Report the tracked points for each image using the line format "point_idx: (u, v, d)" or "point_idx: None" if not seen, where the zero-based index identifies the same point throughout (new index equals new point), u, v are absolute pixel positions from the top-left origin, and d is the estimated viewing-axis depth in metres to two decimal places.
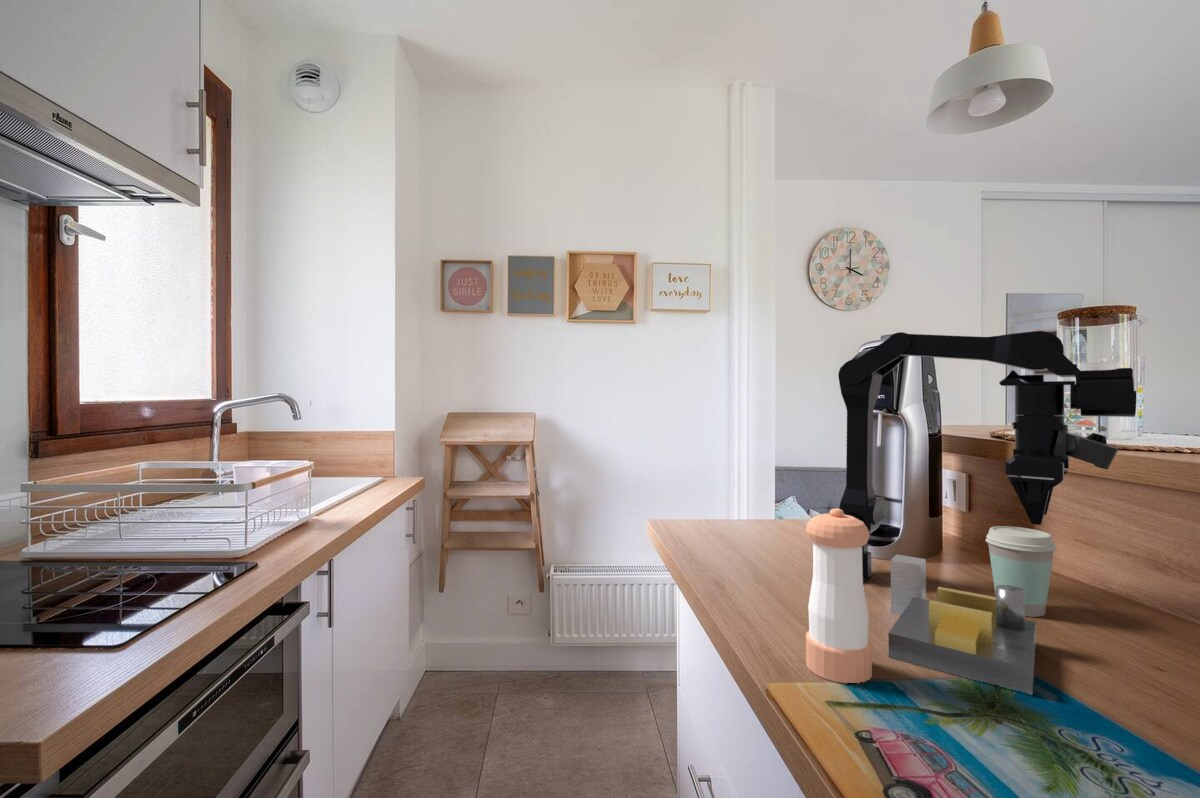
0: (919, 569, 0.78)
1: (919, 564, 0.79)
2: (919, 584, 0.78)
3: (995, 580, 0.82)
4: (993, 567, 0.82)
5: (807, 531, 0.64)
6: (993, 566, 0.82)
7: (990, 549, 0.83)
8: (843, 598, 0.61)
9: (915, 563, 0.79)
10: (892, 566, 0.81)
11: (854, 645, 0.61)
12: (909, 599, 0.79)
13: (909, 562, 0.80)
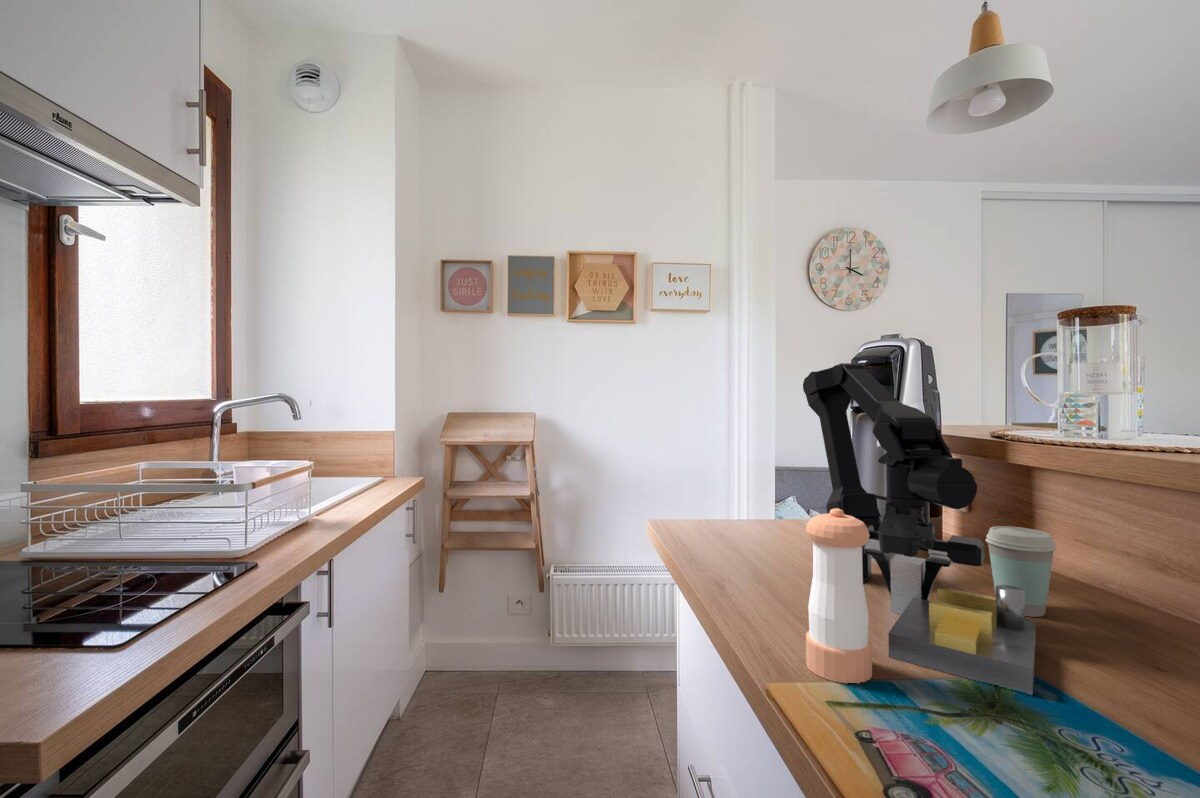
0: (919, 569, 0.78)
1: (919, 563, 0.79)
2: (919, 584, 0.78)
3: (995, 580, 0.82)
4: (993, 567, 0.82)
5: (807, 531, 0.64)
6: (993, 566, 0.82)
7: (990, 549, 0.83)
8: (843, 598, 0.61)
9: (915, 563, 0.79)
10: (892, 566, 0.81)
11: (854, 645, 0.61)
12: (909, 599, 0.79)
13: (909, 562, 0.80)
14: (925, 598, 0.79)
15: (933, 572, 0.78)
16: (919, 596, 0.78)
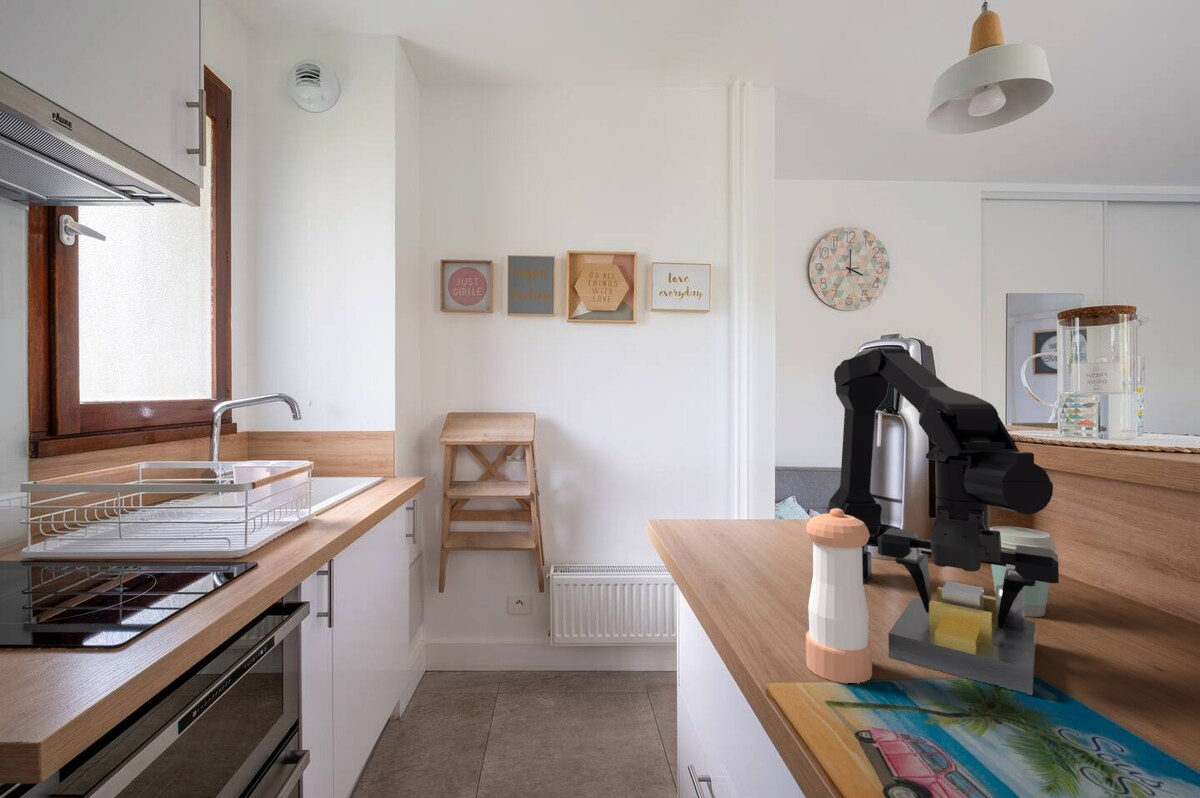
0: (978, 601, 0.66)
1: (977, 594, 0.66)
2: None
3: (995, 580, 0.82)
4: (993, 567, 0.83)
5: (807, 531, 0.64)
6: (993, 566, 0.82)
7: None
8: (843, 598, 0.61)
9: (972, 593, 0.66)
10: (944, 596, 0.68)
11: (854, 645, 0.61)
12: None
13: (965, 592, 0.67)
14: (1002, 623, 0.65)
15: (1013, 592, 0.64)
16: None
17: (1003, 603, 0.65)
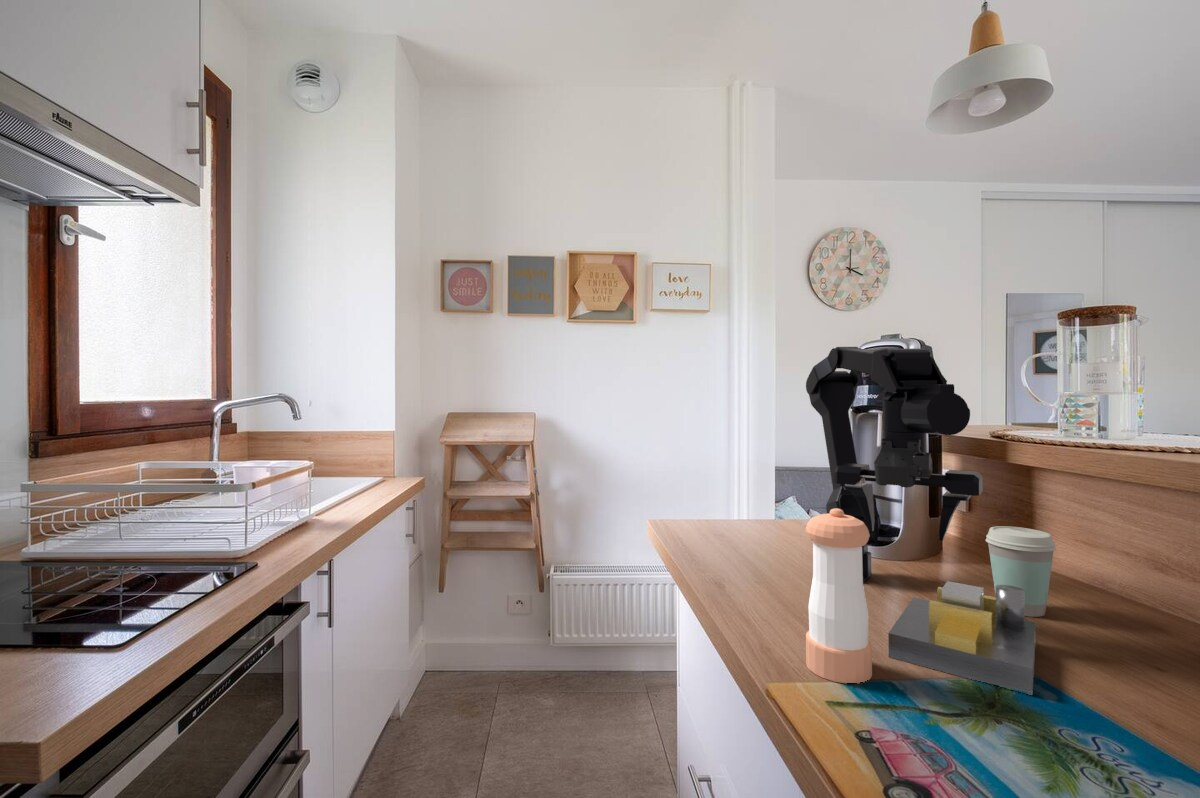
0: (978, 601, 0.66)
1: (977, 594, 0.66)
2: None
3: (995, 580, 0.82)
4: (993, 567, 0.82)
5: (807, 531, 0.64)
6: (993, 566, 0.82)
7: (990, 549, 0.83)
8: (843, 598, 0.61)
9: (972, 593, 0.66)
10: (944, 596, 0.68)
11: (854, 645, 0.61)
12: None
13: (965, 592, 0.67)
14: (942, 536, 0.76)
15: (950, 508, 0.74)
16: None
17: (942, 518, 0.75)
